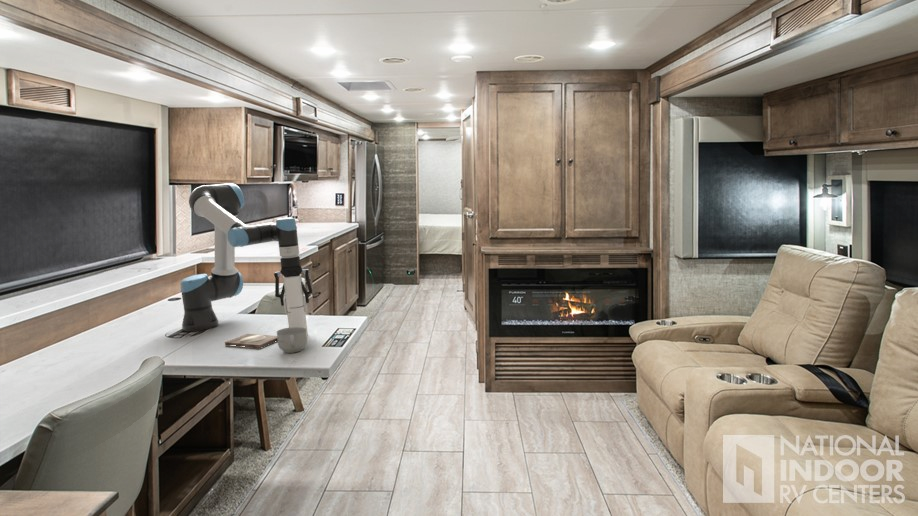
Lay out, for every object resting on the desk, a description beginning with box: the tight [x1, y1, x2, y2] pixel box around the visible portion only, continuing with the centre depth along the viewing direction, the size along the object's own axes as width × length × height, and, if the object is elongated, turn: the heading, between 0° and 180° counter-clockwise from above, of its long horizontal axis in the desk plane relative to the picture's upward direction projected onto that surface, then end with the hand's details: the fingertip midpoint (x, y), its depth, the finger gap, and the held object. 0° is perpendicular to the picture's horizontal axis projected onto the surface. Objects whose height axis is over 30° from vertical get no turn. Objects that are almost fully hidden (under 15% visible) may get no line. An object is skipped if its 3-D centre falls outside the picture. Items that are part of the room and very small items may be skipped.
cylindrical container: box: [282, 274, 309, 337], centre depth 245 cm, size 7×7×25 cm
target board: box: [224, 333, 278, 349], centre depth 242 cm, size 18×12×2 cm, turn 65°
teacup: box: [276, 327, 308, 353], centre depth 226 cm, size 14×11×8 cm
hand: (296, 312), depth 246 cm, fingers closed on cylindrical container, 7 cm apart
